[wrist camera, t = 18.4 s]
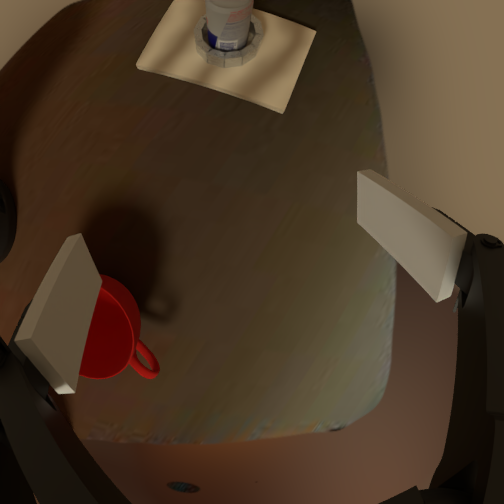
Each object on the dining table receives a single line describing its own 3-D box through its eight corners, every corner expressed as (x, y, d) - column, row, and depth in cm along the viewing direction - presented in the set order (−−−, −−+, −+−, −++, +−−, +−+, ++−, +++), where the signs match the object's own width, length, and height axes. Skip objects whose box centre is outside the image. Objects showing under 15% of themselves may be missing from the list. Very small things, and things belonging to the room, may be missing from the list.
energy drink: (219, 22, 35) (220, -27, 24) (253, 35, 36) (263, -13, 24) (201, 48, 36) (195, 1, 24) (235, 62, 37) (240, 16, 25)
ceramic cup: (143, 377, 44) (128, 414, 34) (60, 309, 41) (27, 332, 31) (192, 319, 43) (184, 350, 33) (100, 244, 40) (68, 255, 30)
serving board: (138, 69, 37) (135, 64, 35) (181, -4, 35) (180, -9, 34) (282, 113, 40) (284, 110, 38) (313, 35, 38) (316, 31, 37)
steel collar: (185, 57, 36) (183, 47, 33) (211, 12, 35) (210, 1, 32) (246, 75, 37) (248, 66, 34) (268, 28, 36) (272, 18, 33)
